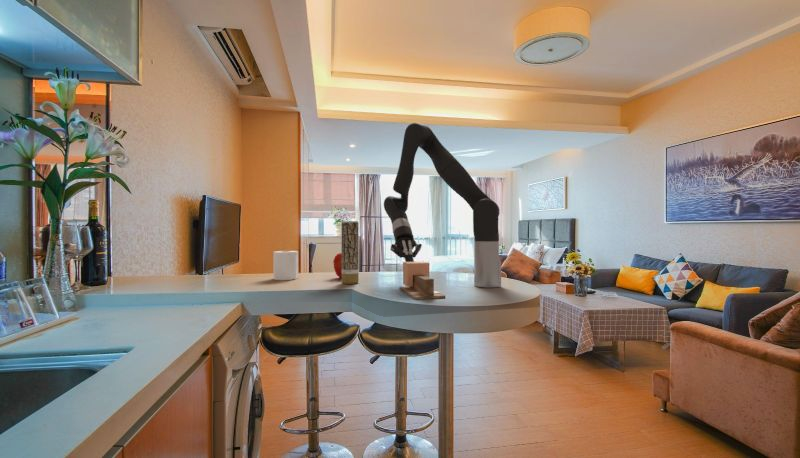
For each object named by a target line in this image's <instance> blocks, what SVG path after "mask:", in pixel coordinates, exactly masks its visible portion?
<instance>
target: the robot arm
mask: <svg viewBox="0 0 800 458" xmlns="http://www.w3.org/2000/svg"><path fill="white" fill-rule="evenodd" d="M419 148H420V149H421V150H423V151H424V153H426V155H428V157H429V158H430V160H431V161H432V163H433V166H434V170H435V171H436V173H437V174H438V176H439V177H440V178H441V179H442V180H443V181H444V182H445V184H446V185H447V186H448V187H449V188H450V189H452V190H453V192H455V193H456V194H458V196H460V197H461V198H462V199H463V200H464V201H465V202H466V203H467V204H468V205H469V207H470V208H471V209H472V211H473V212H472V227H473V228H472V229H473V242H474V243H473V245H474V246H473V248H474V249H473V253H474V254H473V259H474V260H473V261H474V262H473V263H474V264H473V267H474V270H473V274H474V276H473V281H474V282H473V285H474V286H475V287H478V288H497V287H498V288H499V287H502V261H501V260H500V233H499V215H500V207H499V205H498V204H497V203H496V202H495V201H494V200H493V199H491V198H490V197H489V196H488V195H487V194H486V193H485V192H484V191H482V189H480V187H479V186H478V185H477V183H476V182H475V180H474V179H473V177H472V176H471V175H470V174H469V171H467V169H466V168H465V167H464V166H463V165H462V163H460V162H459V160H458V159H456V157H455V156H454V155H453V154H452V153H451V152H450V151H449V150H448V149H447V148H446V147H445V146H444V145H443V144H442V143H441V141H440V140H439V139H438V137H437V136H436V135H435V133H434V132H433V130H432V129H431V128H430V127H429V125H426V124H424V123H419V122H412V123H410V124H408V125H407V126H406V129H405V131H404V136H403V142H402V148H401V155H400V161H399V166H398V170H397V174H396V176H395V179H394V182H393V187H392V189H393V191H394V192H395V193H396V194H397V193H398V194H399V195H400V197H398V196H393V195H388V196H387V197H386V198H385V199H384V201H383V208H384V211H385V213H386V214H387V216H388V217H389V219H390V221H391V227H392V234H393V237H394V243H392V244H391V246H390V251H391V252H393V253H394V254H395V255H396V256H397V257H399V258H403V259H404V262H415V260H414V258H416V256H417V255H418V253H420V251H421V250H422V247H423V245H422V243H419V244H418V243H417V241H416V240H415V238H414V234H413V230H412V228H411V224H410V221H409V218H408V215H407V213H406V212H407V210H408V206H409V192H410V188H411V185H412V183H413V178H414V172H415V171H414V168H415V166H414V164H415V157H416V154H417V151H418V149H419ZM413 250H414V251H413Z"/></svg>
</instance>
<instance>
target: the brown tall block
mask: <svg viewBox="0 0 800 458" xmlns="http://www.w3.org/2000/svg"><path fill="white" fill-rule="evenodd" d="M359 245H360V244H359V221H356V220H354V221H353V220H349V221H348V220H342V221H341V253H342V278H341V283H342V284H343V285H354V284H358V283H359V281H360V280H359V269H360V268H359V264H360V263H359V260H360V259H359V258H360V257H359V253H360V252H359V247H360V246H359Z"/></svg>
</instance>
